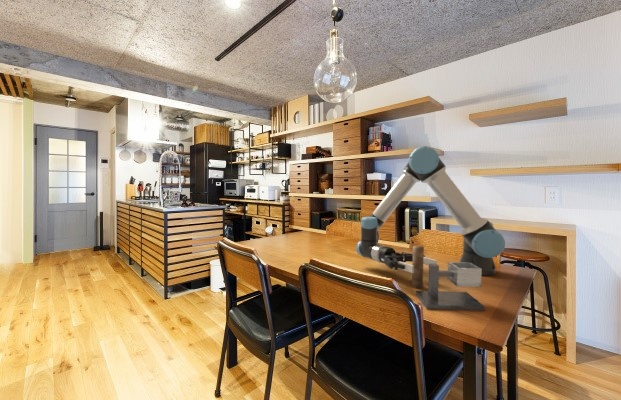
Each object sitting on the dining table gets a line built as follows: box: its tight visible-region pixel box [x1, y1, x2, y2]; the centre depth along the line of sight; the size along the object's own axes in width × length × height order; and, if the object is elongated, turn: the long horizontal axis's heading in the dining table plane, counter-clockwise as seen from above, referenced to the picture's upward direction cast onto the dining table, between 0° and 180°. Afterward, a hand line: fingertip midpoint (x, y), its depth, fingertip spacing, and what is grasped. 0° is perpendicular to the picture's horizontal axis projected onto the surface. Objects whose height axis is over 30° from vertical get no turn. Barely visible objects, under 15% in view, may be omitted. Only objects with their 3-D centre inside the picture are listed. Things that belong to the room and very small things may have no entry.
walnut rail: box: [411, 245, 425, 290], centre depth 111 cm, size 4×4×16 cm
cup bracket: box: [415, 261, 486, 312], centre depth 97 cm, size 18×12×13 cm, turn 86°
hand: (424, 266), depth 108 cm, fingers open, 13 cm apart
